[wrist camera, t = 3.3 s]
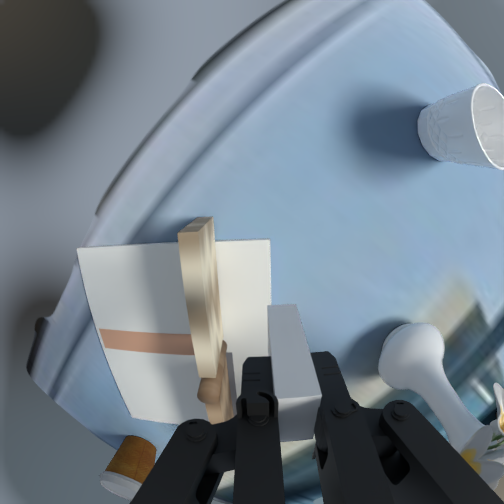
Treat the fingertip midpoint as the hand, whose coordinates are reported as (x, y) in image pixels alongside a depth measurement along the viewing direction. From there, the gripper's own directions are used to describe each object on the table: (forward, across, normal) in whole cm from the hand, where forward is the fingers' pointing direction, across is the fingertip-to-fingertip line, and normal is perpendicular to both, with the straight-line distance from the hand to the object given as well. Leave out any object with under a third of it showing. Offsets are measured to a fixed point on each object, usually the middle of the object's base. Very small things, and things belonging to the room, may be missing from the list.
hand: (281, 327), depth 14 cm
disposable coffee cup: (+13, +24, +36) cm, 46 cm away
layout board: (+13, +11, +12) cm, 21 cm away
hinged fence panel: (+13, +6, +2) cm, 14 cm away
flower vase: (+14, -18, +12) cm, 26 cm away
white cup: (+14, -20, -14) cm, 28 cm away
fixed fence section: (+13, +6, +18) cm, 23 cm away
